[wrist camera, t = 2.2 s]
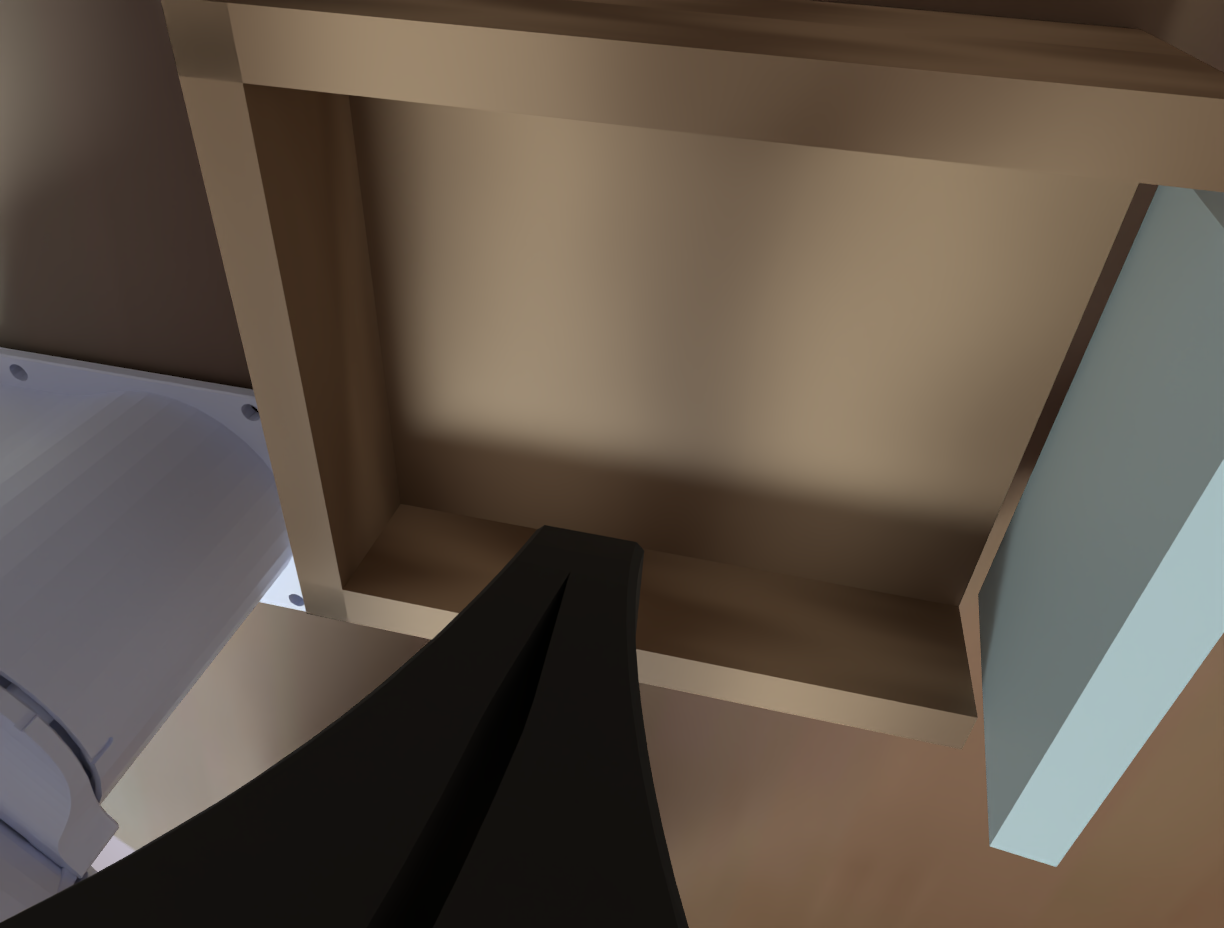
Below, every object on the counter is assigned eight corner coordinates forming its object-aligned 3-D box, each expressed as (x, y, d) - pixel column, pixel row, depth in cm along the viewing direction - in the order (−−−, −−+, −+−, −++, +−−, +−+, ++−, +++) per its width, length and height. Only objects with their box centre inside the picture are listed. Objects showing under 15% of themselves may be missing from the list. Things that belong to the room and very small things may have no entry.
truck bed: (407, 470, 23) (306, 613, 18) (347, -40, 16) (159, -4, 11) (934, 563, 21) (961, 749, 16) (1140, 29, 14) (1284, 104, 9)
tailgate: (978, 582, 18) (989, 846, 13) (1165, 152, 13) (1302, 328, 8) (1025, 593, 18) (1056, 866, 13) (1236, 161, 13) (1425, 349, 8)
